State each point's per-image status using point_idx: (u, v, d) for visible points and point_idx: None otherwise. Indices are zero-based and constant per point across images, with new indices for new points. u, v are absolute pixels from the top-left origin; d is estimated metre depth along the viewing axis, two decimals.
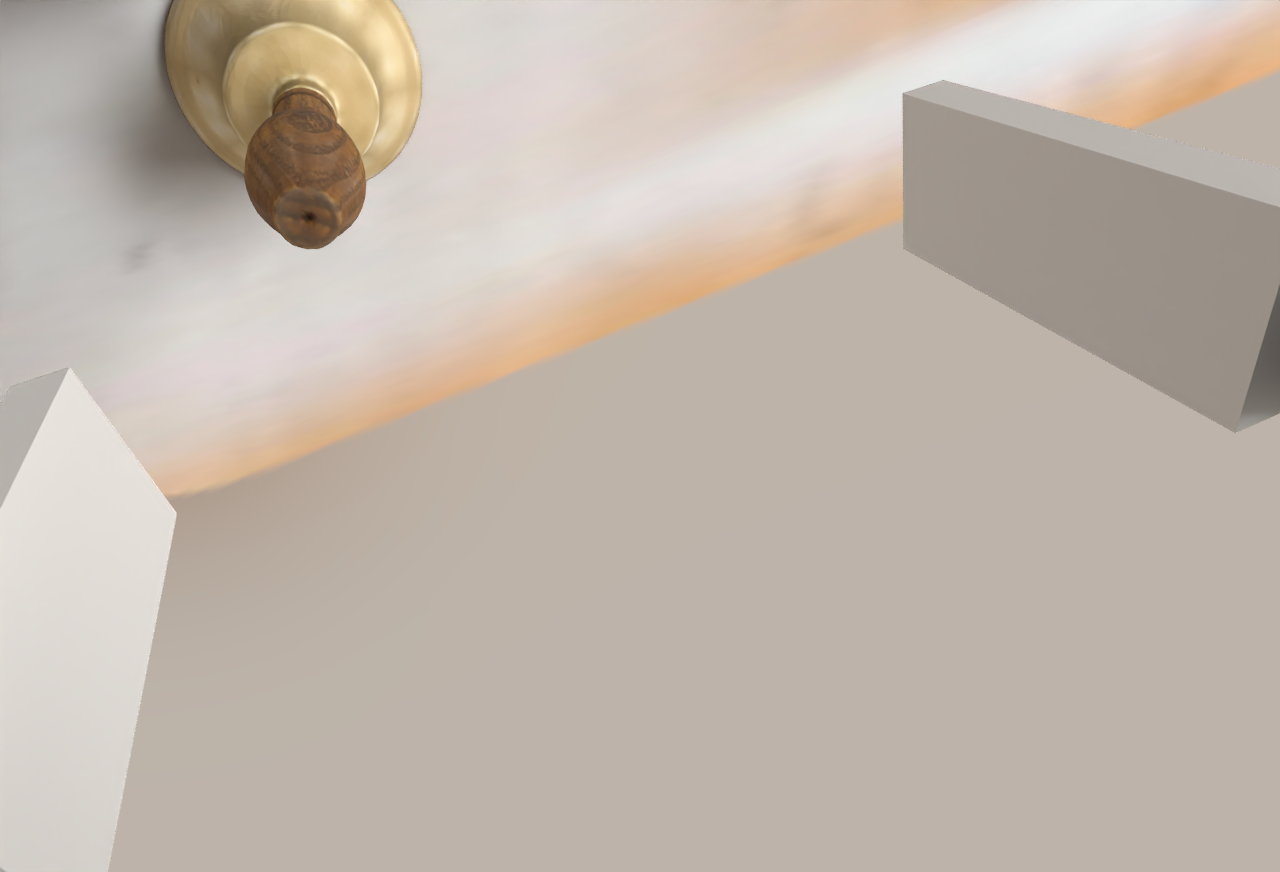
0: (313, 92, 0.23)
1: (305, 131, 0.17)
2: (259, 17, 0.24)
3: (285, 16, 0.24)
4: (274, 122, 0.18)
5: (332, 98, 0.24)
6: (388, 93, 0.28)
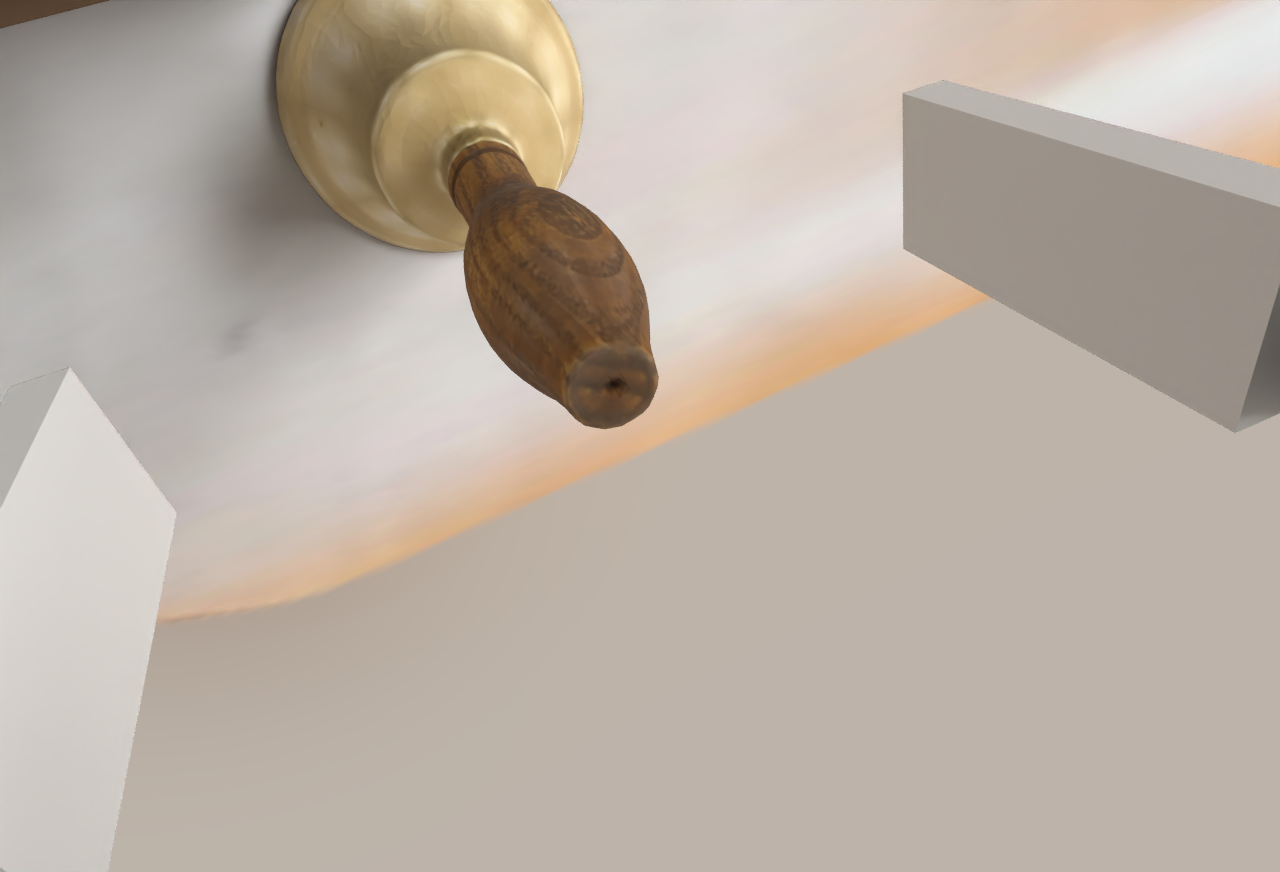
0: (504, 147, 0.17)
1: (577, 236, 0.11)
2: (414, 43, 0.18)
3: (451, 41, 0.18)
4: (520, 220, 0.12)
5: (517, 150, 0.18)
6: None
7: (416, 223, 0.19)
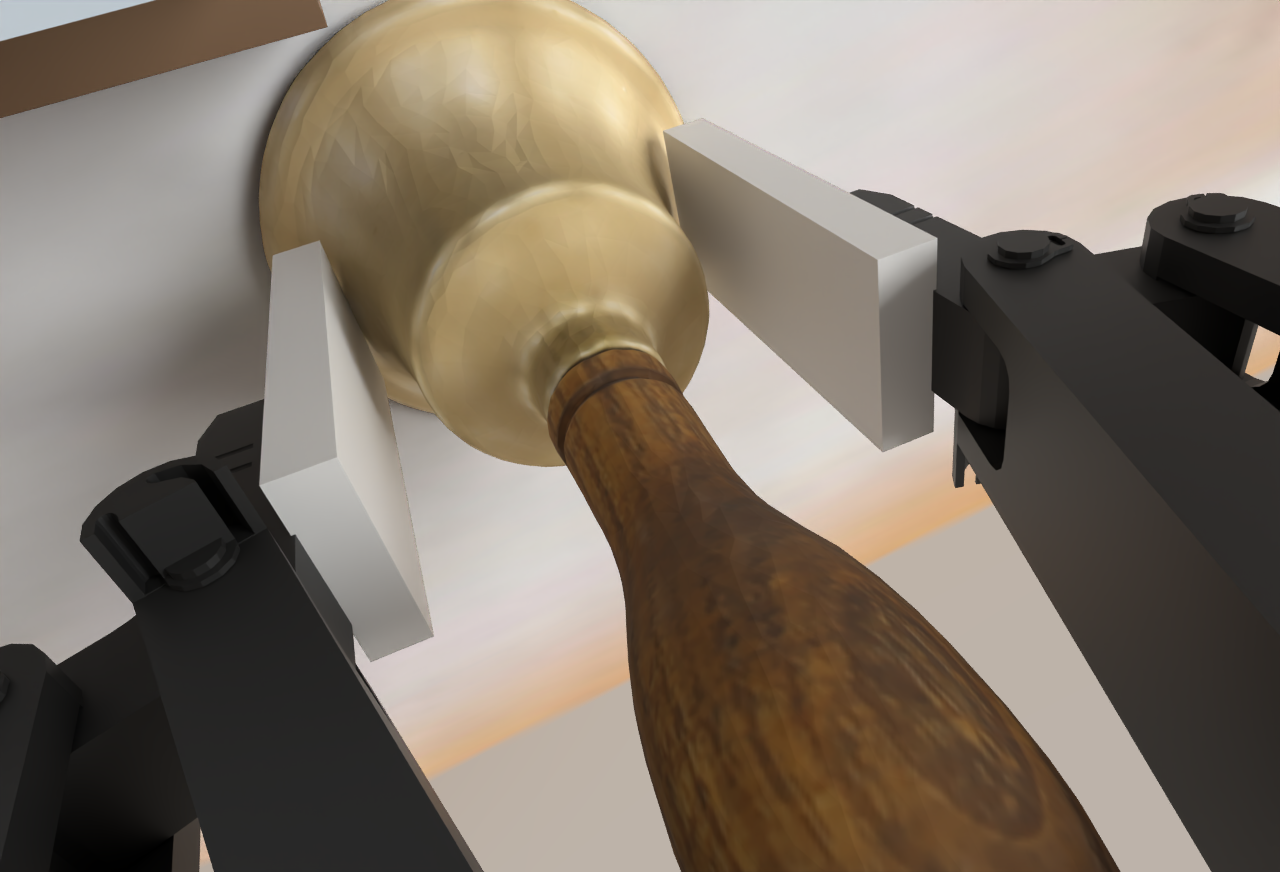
0: (647, 361, 0.10)
1: (1009, 829, 0.04)
2: (480, 165, 0.11)
3: (540, 164, 0.11)
4: (828, 732, 0.05)
5: (651, 342, 0.11)
6: None
7: (480, 445, 0.12)
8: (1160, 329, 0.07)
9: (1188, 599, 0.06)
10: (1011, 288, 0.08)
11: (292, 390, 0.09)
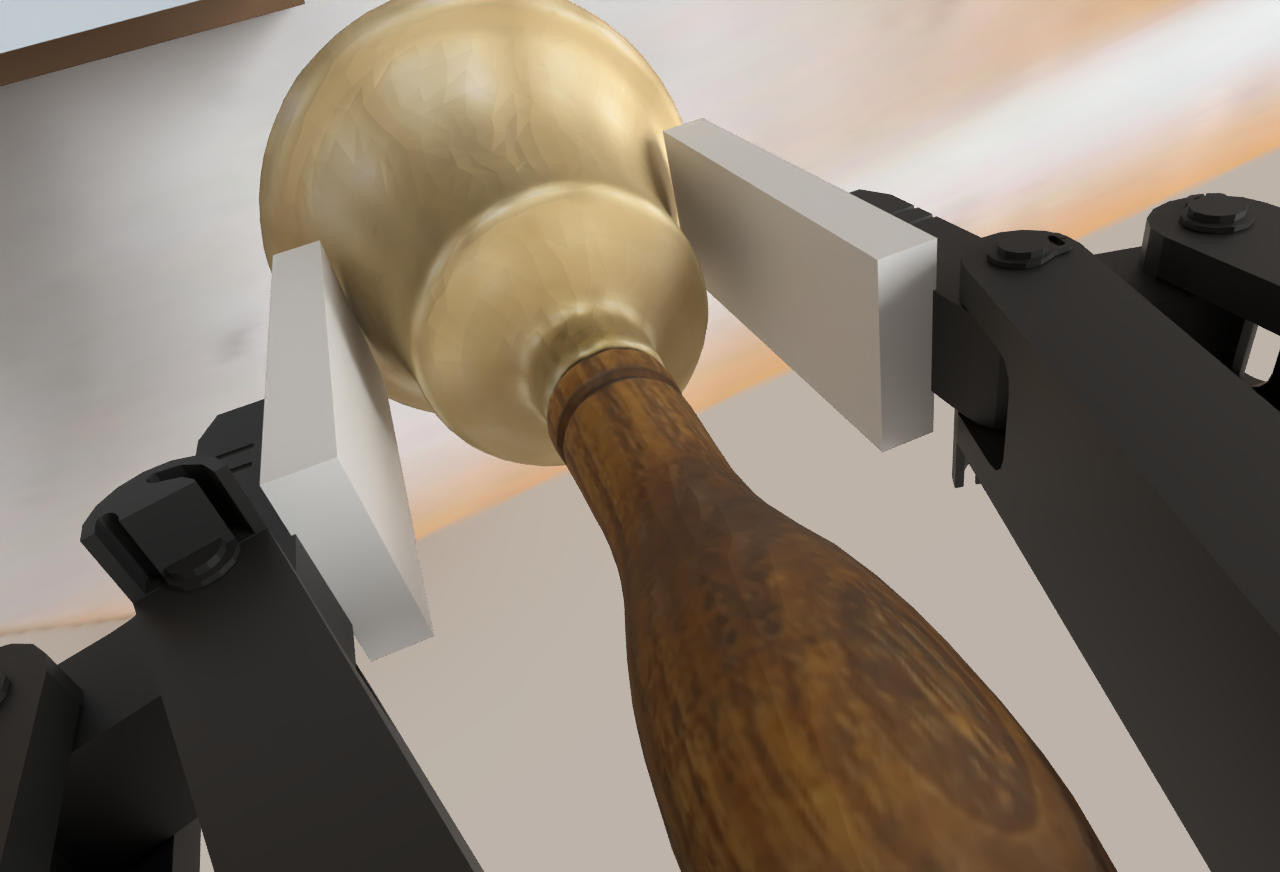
0: (646, 360, 0.10)
1: (1004, 826, 0.04)
2: (480, 165, 0.11)
3: (540, 164, 0.11)
4: (825, 728, 0.05)
5: (650, 342, 0.11)
6: None
7: (479, 444, 0.12)
8: (1159, 329, 0.07)
9: (1188, 599, 0.06)
10: (1010, 288, 0.08)
11: (292, 390, 0.09)
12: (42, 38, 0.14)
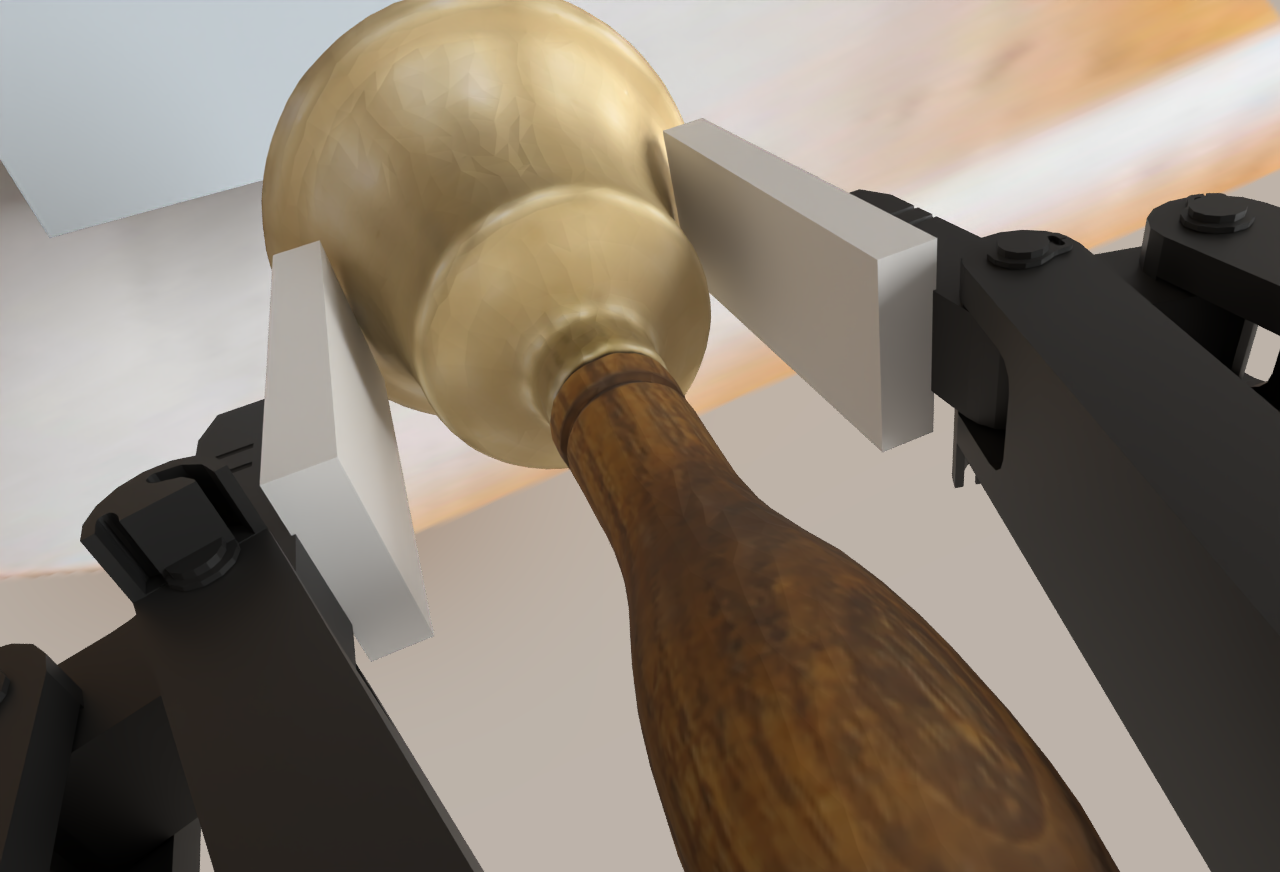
0: (650, 364, 0.10)
1: (1013, 832, 0.04)
2: (483, 168, 0.11)
3: (543, 167, 0.11)
4: (832, 735, 0.05)
5: (653, 346, 0.11)
6: None
7: (482, 447, 0.12)
8: (1159, 329, 0.07)
9: (1188, 599, 0.06)
10: (1010, 288, 0.08)
11: (292, 390, 0.09)
12: None
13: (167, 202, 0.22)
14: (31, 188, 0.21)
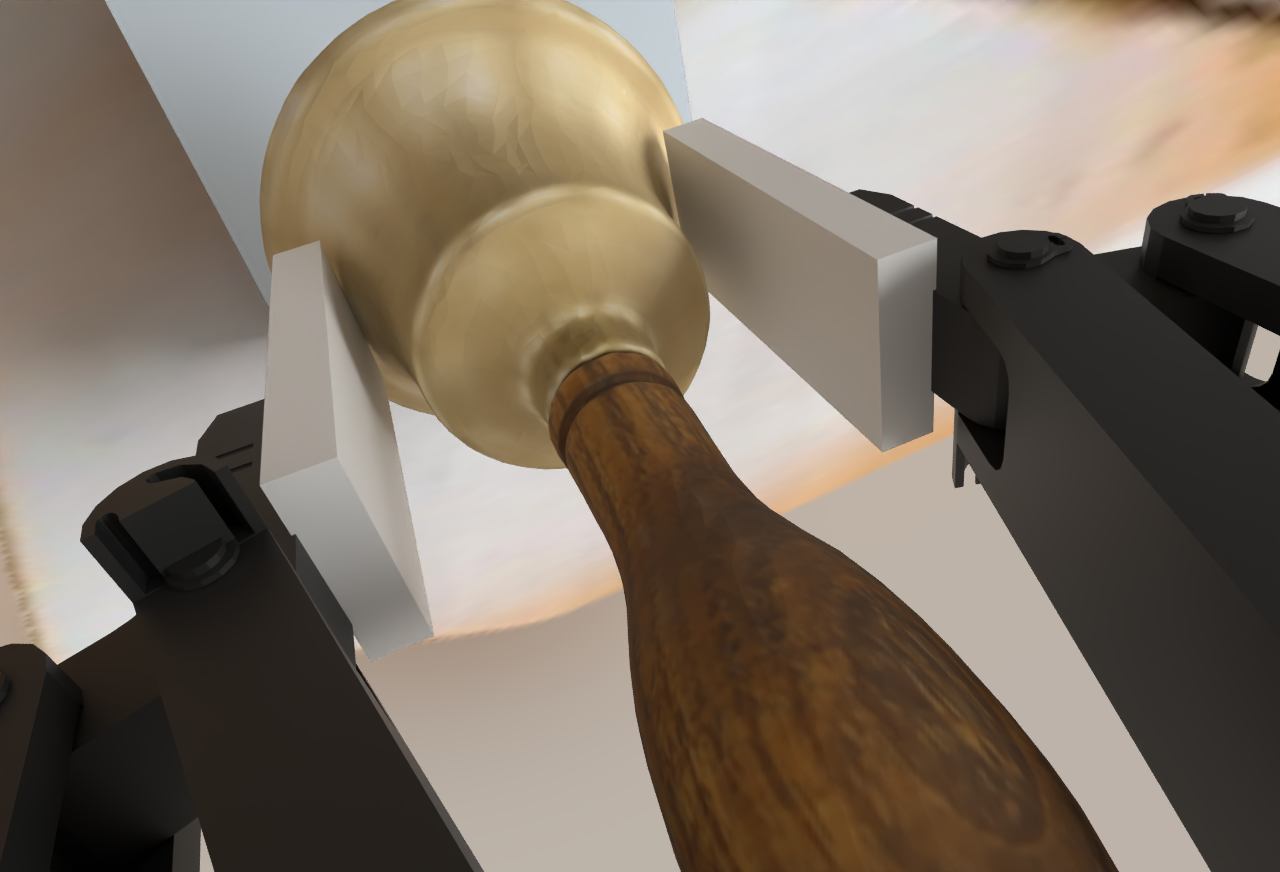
0: (648, 364, 0.10)
1: (1012, 836, 0.04)
2: (481, 168, 0.11)
3: (541, 167, 0.11)
4: (830, 738, 0.05)
5: (652, 345, 0.11)
6: None
7: (481, 447, 0.12)
8: (1160, 329, 0.07)
9: (1188, 599, 0.06)
10: (1011, 288, 0.08)
11: (292, 389, 0.09)
12: None
13: None
14: None
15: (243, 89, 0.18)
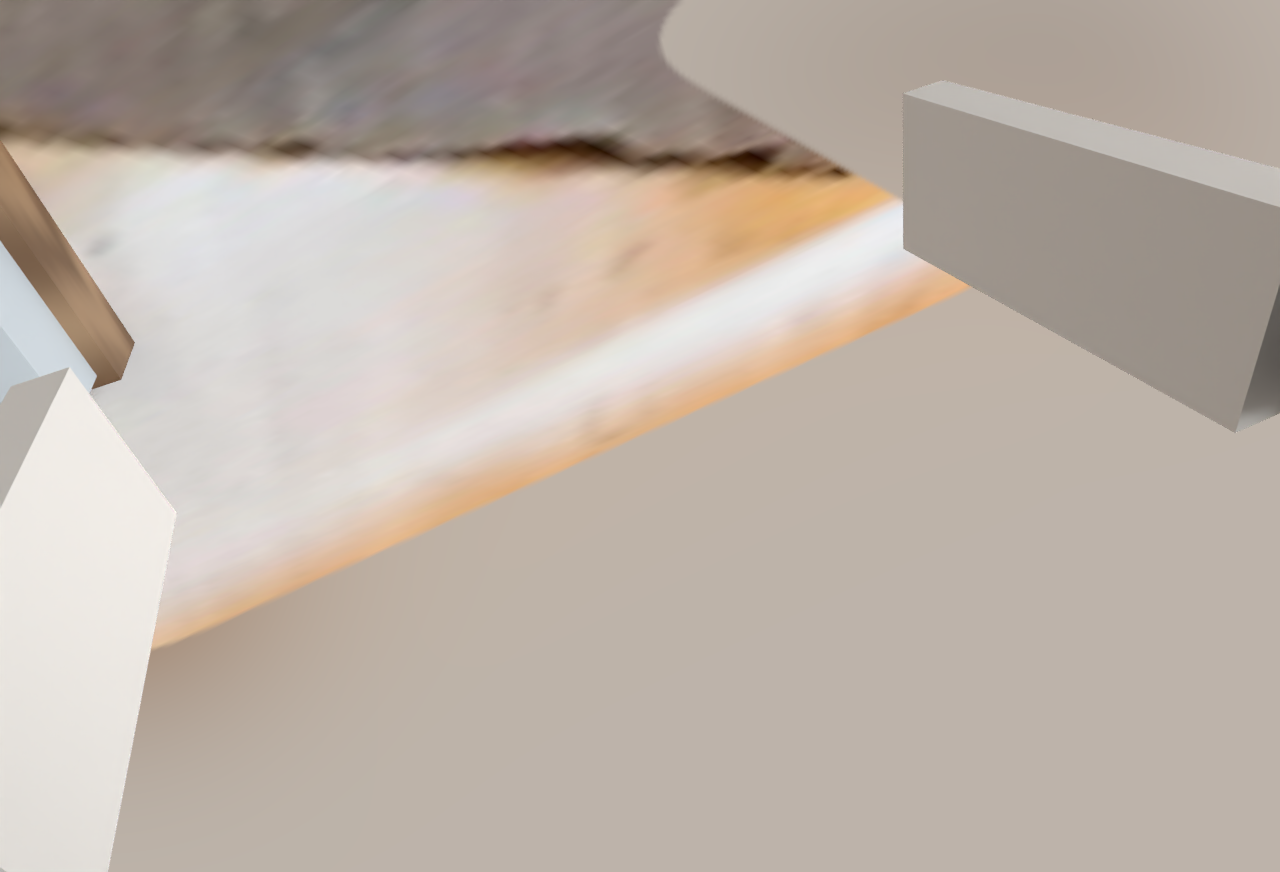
0: None
1: None
2: None
3: None
4: None
5: None
6: None
7: None
8: None
9: None
10: None
11: None
12: None
13: None
14: None
15: None
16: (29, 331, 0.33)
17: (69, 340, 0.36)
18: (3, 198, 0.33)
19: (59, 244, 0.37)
